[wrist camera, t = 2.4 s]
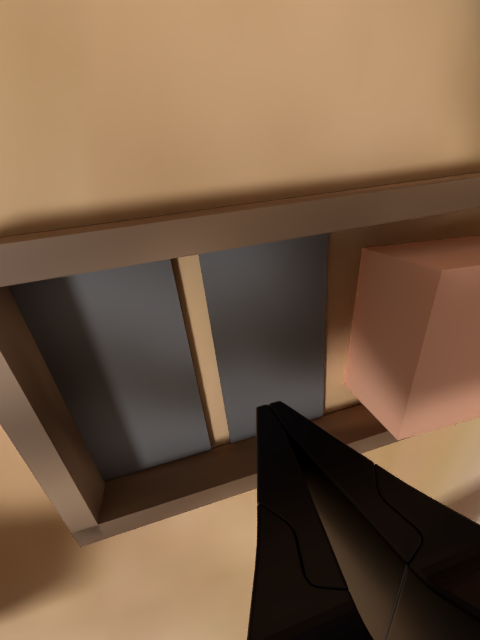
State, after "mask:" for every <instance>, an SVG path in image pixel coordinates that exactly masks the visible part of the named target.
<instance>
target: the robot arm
mask: <svg viewBox="0 0 480 640" xmlns="http://www.w3.org/2000/svg"><path fill="white" fill-rule="evenodd" d="M256 450H257V504H258V506H257V548H256V560H255V571H254V580H253V590H252V599H251V608H250V617H249V626H248V635H247V640H480V525H479V524H478V523H476V522H474V521H472V520H470V519H469V518H467V517H465V516H463V515H461V514H459V513H458V512H456V511H454V510H452V509H450V508H449V507H447V506H445V505H443V504H441V503H440V502H438V501H436V500H434V499H432V498H431V497H429V496H427V495H425V494H424V493H422V492H420V491H418V490H417V489H415V488H413V487H411V486H410V485H408V484H406V483H405V482H403V481H402V480H400V479H399V478H397V477H395V476H394V475H392V474H391V473H389V472H388V471H386V470H385V469H383V468H381V467H380V466H378V465H377V464H375V465H374V463H373V462H372V461H371V460H369V459H368V458H366V457H365V456H363V455H362V454H360V453H359V452H357V451H356V450H354V449H353V448H351V447H350V446H348V445H347V444H345V443H344V442H342V441H341V440H339V439H338V438H336V437H335V436H333V435H332V434H330V433H329V432H327V431H326V430H324V429H323V428H321V427H320V426H318V425H316V424H315V423H313V422H312V421H310V420H309V419H307V418H306V417H304V416H303V415H301V414H300V413H298V412H297V411H295V410H294V409H292V408H291V407H289V406H288V405H286V404H285V403H283V402H282V401H276V402H273V403H270V404H269V405H267V404H266V405H262V406H258V407H257V408H256Z"/></svg>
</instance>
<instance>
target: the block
mask: <svg viewBox="0 0 480 640" xmlns="http://www.w3.org/2000/svg"><path fill="white" fill-rule="evenodd" d="M344 385H345V386H346V387H347V388H348V389H349V390H350V391H351V392H352V393H353V394H354V396H355V397H356V398H357V399H358V400H359V401H360V402H361V403H362V404H363V405H364V406H365V407H366V408H367V409H368V410H369V411H370V412H371V413H372V414H373V415H374V416H375V417H376V418H377V419H378V420H379V421H380V422H381V423H382V425H383V426H384V427H385V428H386V429H387V430H388V431H389V432H390V433H391V434H392V435H393V436H394V437H395V438H396V439H397V440H401V439H404V438H408V437H411V436H415V435H418V434H422V433H425V432H429V431H432V430H436V429H439V428H443V427H446V426H450V425H453V424H457V423H460V422H464V421H467V420H471V419H474V418H478V417H480V235H476V236H467V237H458V238H448V239H439V240H430V241H421V242H412V243H403V244H394V245H385V246H375V247H366V248H362V253H361V261H360V268H359V275H358V283H357V290H356V297H355V305H354V312H353V319H352V327H351V334H350V341H349V349H348V356H347V364H346V371H345V378H344Z"/></svg>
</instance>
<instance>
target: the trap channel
mask: <svg viewBox="0 0 480 640" xmlns="http://www.w3.org/2000/svg"><path fill="white" fill-rule="evenodd" d="M475 208H480V172H477V173H470V174H462V175H455V176H448V177H440V178H433V179H426V180H418V181H411V182H404V183H396V184H389V185H382V186H374V187H367V188H360V189H352V190H345V191H338V192H330V193H323V194H316V195H308V196H301V197H294V198H286V199H279V200H272V201H264V202H257V203H250V204H242V205H235V206H228V207H220V208H213V209H206V210H198V211H191V212H184V213H176V214H169V215H162V216H154V217H147V218H140V219H132V220H125V221H118V222H110V223H103V224H96V225H88V226H81V227H74V228H66V229H59V230H52V231H44V232H37V233H30V234H22V235H15V236H8V237H0V424H1V426H2V427H3V429H4V430H5V432H6V433H7V435H8V437H9V438H10V440H11V441H12V443H13V444H14V446H15V447H16V449H17V450H18V452H19V453H20V455H21V457H22V458H23V460H24V461H25V463H26V464H27V466H28V467H29V469H30V470H31V472H32V473H33V475H34V477H35V478H36V480H37V481H38V483H39V484H40V486H41V487H42V489H43V490H44V492H45V493H46V495H47V497H48V498H49V500H50V501H51V503H52V504H53V506H54V507H55V509H56V510H57V512H58V514H59V515H60V517H61V518H62V520H63V521H64V523H65V524H66V526H67V527H68V529H69V530H70V532H71V534H72V535H73V537H74V538H75V540H76V541H77V543H78V544H79V546H80V547H82V546H85V545H88V544H91V543H94V542H97V541H100V540H103V539H106V538H109V537H112V536H115V535H118V534H121V533H124V532H127V531H130V530H133V529H136V528H139V527H142V526H145V525H148V524H151V523H154V522H157V521H160V520H163V519H166V518H169V517H172V516H175V515H178V514H181V513H184V512H187V511H190V510H193V509H196V508H199V507H202V506H205V505H208V504H211V503H214V502H217V501H220V500H223V499H226V498H229V497H232V496H235V495H238V494H241V493H244V492H247V491H250V490H253V489H256V488H257V450H256V408H257V407H258V406H262V405H266V404H267V405H269V404H270V403H273V402H276V401H282V402H283V403H285V404H286V405H288V406H289V407H291V408H292V409H294V410H295V411H297V412H298V413H300V414H301V415H303V416H304V417H306V418H307V419H309V420H310V421H312V422H313V423H315V424H316V425H318V426H320V427H321V428H323V429H324V430H326V431H327V432H329V433H330V434H332V435H333V436H335V437H336V438H338V439H339V440H341V441H342V442H344V443H345V444H347V445H348V446H350V447H351V448H353V449H354V450H356V451H357V452H359V453H360V454H361V453H364V452H367V451H370V450H373V449H376V448H379V447H382V446H385V445H388V444H391V443H394V442H397V441H400V440H397V439H396V438H395V437H394V436H393V435H392V434H391V433H390V432H389V431H388V430H387V429H386V428H385V427H384V426H383V425H382V423H381V422H380V421H379V420H378V419H377V418H376V417H375V416H374V415H373V414H372V413H371V412H370V411H369V410H368V409H367V408H366V407H365V406H364V405H363V404H361V405H358V406H354V407H351V408H347V409H344V410H341V411H337V412H334V413H331V414H327V415H324V416H323V400H324V367H325V333H326V299H327V265H328V233H330V232H336V231H342V230H348V229H354V228H360V227H366V226H372V225H378V224H384V223H390V222H396V221H403V220H409V219H415V218H421V217H427V216H433V215H439V214H445V213H451V212H457V211H463V210H469V209H475ZM197 254H199V260H200V266H201V272H202V278H203V283H204V289H205V295H206V301H207V307H208V313H209V319H210V324H211V330H212V336H213V342H214V348H215V354H216V359H217V365H218V371H219V377H220V383H221V389H222V395H223V400H224V406H225V412H226V418H227V424H228V430H229V436H230V441H231V443H229V444H226V445H223V446H219V447H216V448H213V449H211V445H210V440H209V436H208V431H207V427H206V422H205V417H204V413H203V408H202V404H201V399H200V394H199V390H198V385H197V380H196V376H195V371H194V367H193V362H192V357H191V353H190V348H189V343H188V339H187V334H186V330H185V325H184V320H183V316H182V311H181V306H180V302H179V297H178V293H177V288H176V283H175V279H174V274H173V270H172V265H171V260H170V259H173V258H179V257H185V256H191V255H197ZM411 437H412V436H411ZM408 438H409V437H408ZM404 439H406V438H404ZM401 440H403V439H401Z"/></svg>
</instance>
